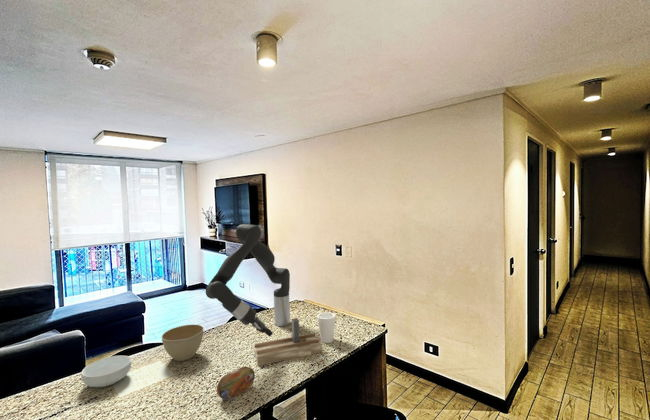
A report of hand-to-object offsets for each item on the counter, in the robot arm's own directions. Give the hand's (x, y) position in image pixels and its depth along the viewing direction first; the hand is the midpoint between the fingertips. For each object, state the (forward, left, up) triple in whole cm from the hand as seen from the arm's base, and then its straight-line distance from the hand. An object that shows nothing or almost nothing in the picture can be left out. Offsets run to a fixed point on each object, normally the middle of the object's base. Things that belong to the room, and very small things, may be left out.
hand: (271, 334), depth 143 cm
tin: (+23, -17, -11) cm, 31 cm away
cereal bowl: (-6, -67, -11) cm, 68 cm away
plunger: (0, +12, -6) cm, 13 cm away
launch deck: (0, +8, -10) cm, 13 cm away
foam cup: (-5, +30, -11) cm, 32 cm away
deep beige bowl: (-16, -39, -11) cm, 44 cm away
